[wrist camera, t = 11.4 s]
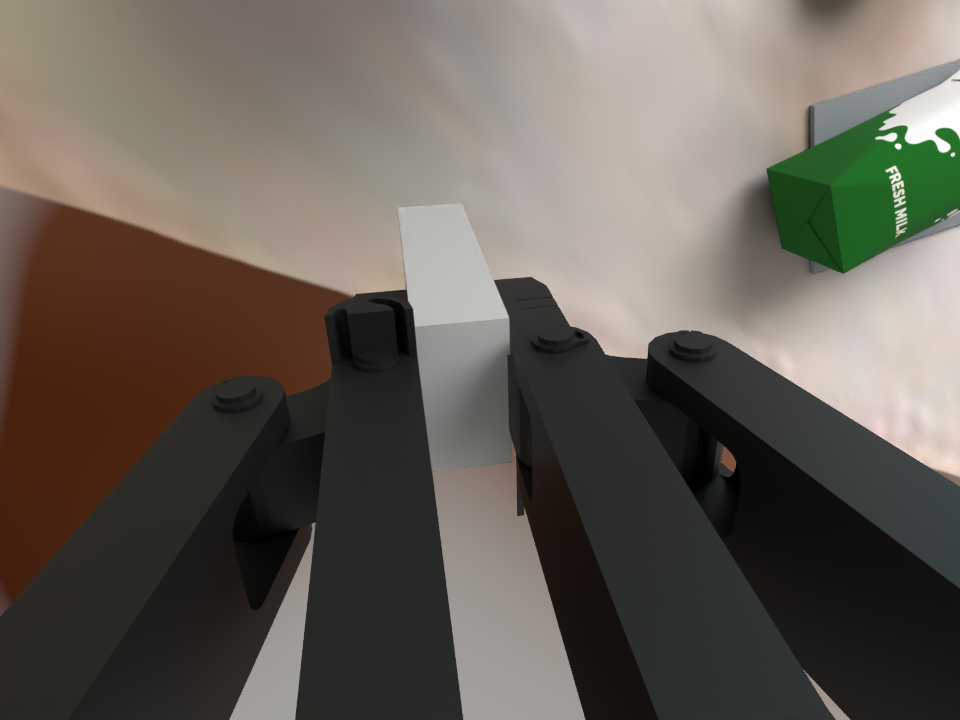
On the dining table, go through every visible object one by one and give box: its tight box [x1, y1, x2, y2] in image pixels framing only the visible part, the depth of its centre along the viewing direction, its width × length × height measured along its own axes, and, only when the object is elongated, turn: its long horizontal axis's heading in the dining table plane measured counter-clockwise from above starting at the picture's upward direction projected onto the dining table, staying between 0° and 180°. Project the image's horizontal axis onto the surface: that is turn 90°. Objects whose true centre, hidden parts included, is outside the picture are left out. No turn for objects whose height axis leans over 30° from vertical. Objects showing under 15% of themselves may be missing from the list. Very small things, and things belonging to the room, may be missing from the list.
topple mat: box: [810, 60, 960, 274], centre depth 58 cm, size 20×14×1 cm
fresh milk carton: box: [767, 70, 960, 274], centre depth 52 cm, size 9×9×20 cm
